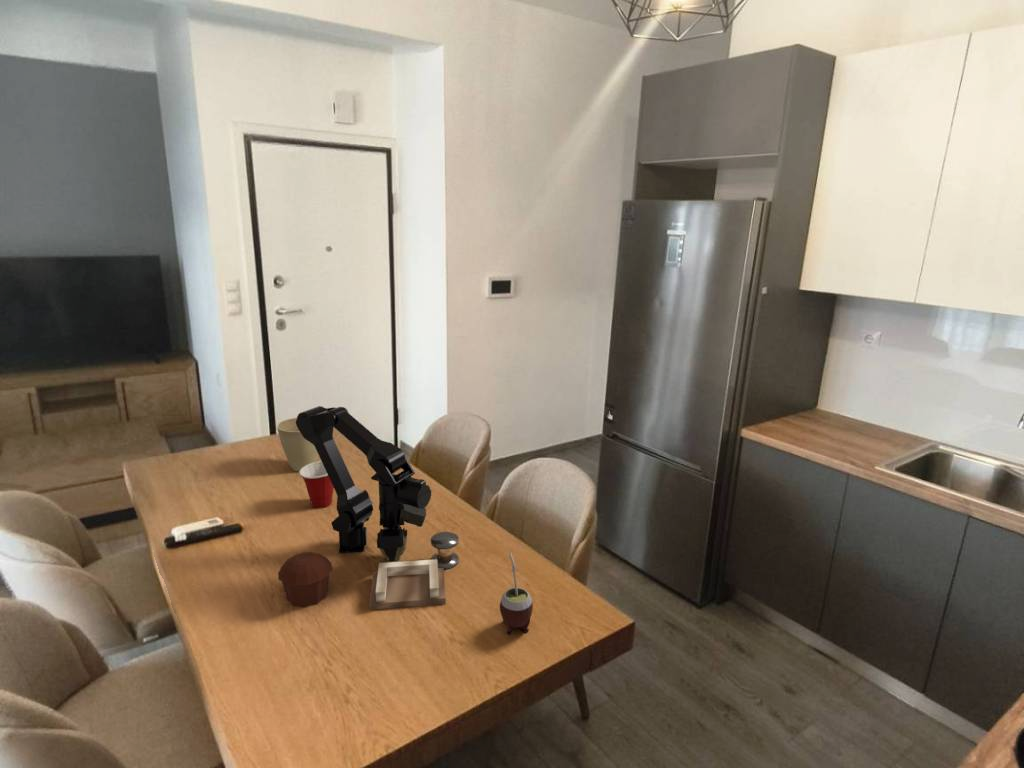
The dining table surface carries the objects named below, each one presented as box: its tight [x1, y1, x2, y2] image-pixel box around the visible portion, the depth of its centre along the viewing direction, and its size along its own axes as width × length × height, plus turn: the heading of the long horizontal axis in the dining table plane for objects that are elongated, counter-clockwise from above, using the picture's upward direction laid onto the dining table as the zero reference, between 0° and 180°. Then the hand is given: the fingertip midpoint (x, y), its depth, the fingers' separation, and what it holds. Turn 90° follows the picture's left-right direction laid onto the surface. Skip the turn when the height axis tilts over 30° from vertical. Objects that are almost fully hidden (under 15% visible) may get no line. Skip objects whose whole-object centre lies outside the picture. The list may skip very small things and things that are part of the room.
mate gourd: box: [499, 551, 534, 636], centre depth 125 cm, size 8×8×15 cm
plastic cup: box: [298, 460, 335, 509], centre depth 176 cm, size 11×11×12 cm
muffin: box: [277, 551, 333, 608], centre depth 134 cm, size 12×11×10 cm
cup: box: [377, 525, 408, 563], centre depth 148 cm, size 8×7×8 cm
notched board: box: [368, 559, 447, 611], centre depth 137 cm, size 17×12×4 cm
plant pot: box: [276, 417, 319, 472], centre depth 200 cm, size 15×15×16 cm
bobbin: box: [430, 531, 460, 570], centre depth 148 cm, size 7×7×6 cm
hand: (393, 553), depth 149 cm, fingers closed on cup, 6 cm apart
